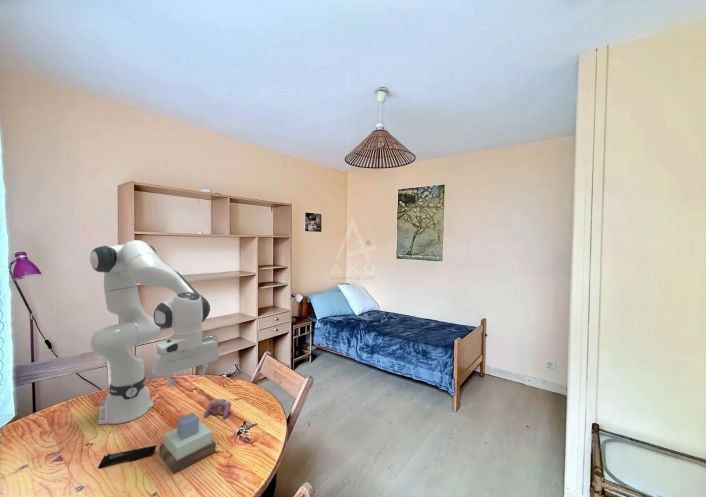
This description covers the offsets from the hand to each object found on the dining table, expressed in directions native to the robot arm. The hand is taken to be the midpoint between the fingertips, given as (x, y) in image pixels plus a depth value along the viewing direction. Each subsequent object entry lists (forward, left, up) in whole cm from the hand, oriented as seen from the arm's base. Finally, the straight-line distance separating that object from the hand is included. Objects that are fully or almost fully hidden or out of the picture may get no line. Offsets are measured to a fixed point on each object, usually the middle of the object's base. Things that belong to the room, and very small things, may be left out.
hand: (187, 380), depth 100 cm
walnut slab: (0, 0, -26) cm, 26 cm away
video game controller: (-15, +18, -25) cm, 34 cm away
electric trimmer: (-12, -14, -26) cm, 31 cm away
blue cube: (+1, 0, -18) cm, 18 cm away
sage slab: (+1, 0, -22) cm, 22 cm away
